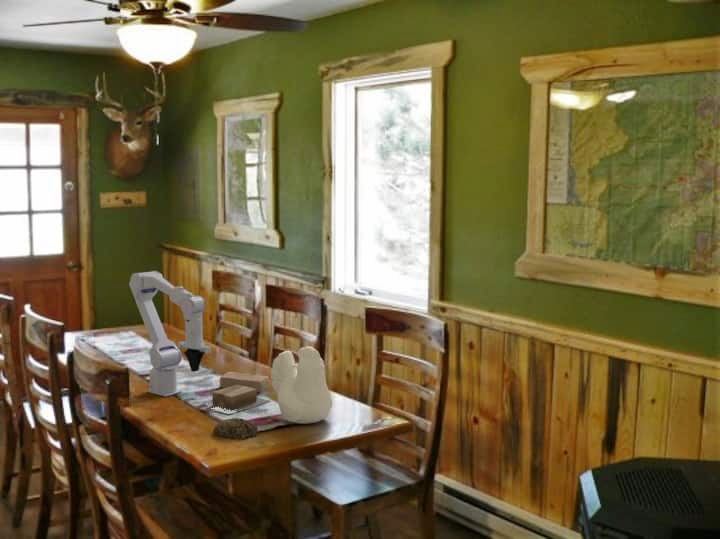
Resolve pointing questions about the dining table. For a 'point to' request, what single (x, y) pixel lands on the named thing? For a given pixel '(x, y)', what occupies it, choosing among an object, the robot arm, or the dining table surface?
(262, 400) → the spiral notebook
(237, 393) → the block
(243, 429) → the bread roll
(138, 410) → the dining table surface
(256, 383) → the brick
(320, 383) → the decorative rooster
